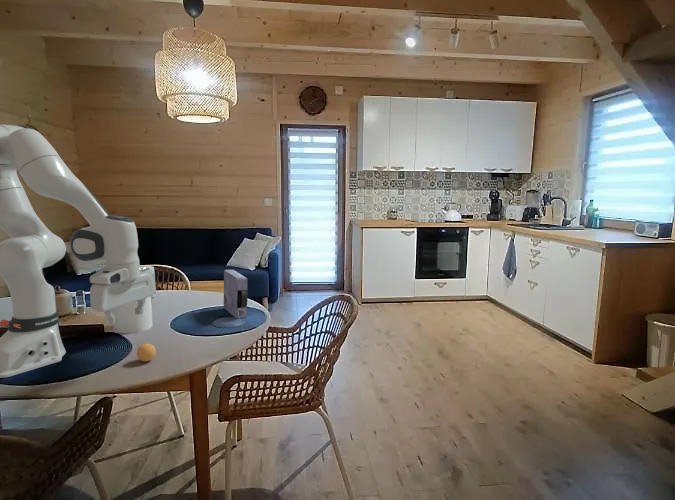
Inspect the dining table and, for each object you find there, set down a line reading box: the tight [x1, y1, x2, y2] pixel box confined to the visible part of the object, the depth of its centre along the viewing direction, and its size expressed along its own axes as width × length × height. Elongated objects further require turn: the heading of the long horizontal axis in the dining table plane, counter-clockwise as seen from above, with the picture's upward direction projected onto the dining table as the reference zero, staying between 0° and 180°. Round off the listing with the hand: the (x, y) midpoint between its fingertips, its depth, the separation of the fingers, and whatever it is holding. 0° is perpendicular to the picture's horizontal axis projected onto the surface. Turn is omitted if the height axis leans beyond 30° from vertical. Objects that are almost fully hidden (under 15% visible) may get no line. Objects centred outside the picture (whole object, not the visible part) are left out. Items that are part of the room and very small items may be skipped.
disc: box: [212, 316, 246, 329], centre depth 172 cm, size 13×13×1 cm
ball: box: [136, 343, 157, 363], centre depth 134 cm, size 6×6×6 cm
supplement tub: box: [140, 265, 157, 299], centre depth 206 cm, size 10×10×15 cm
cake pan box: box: [223, 269, 249, 319], centre depth 184 cm, size 19×5×18 cm, turn 32°
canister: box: [112, 297, 153, 335], centre depth 163 cm, size 14×14×20 cm
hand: (126, 318), depth 125 cm, fingers open, 8 cm apart
